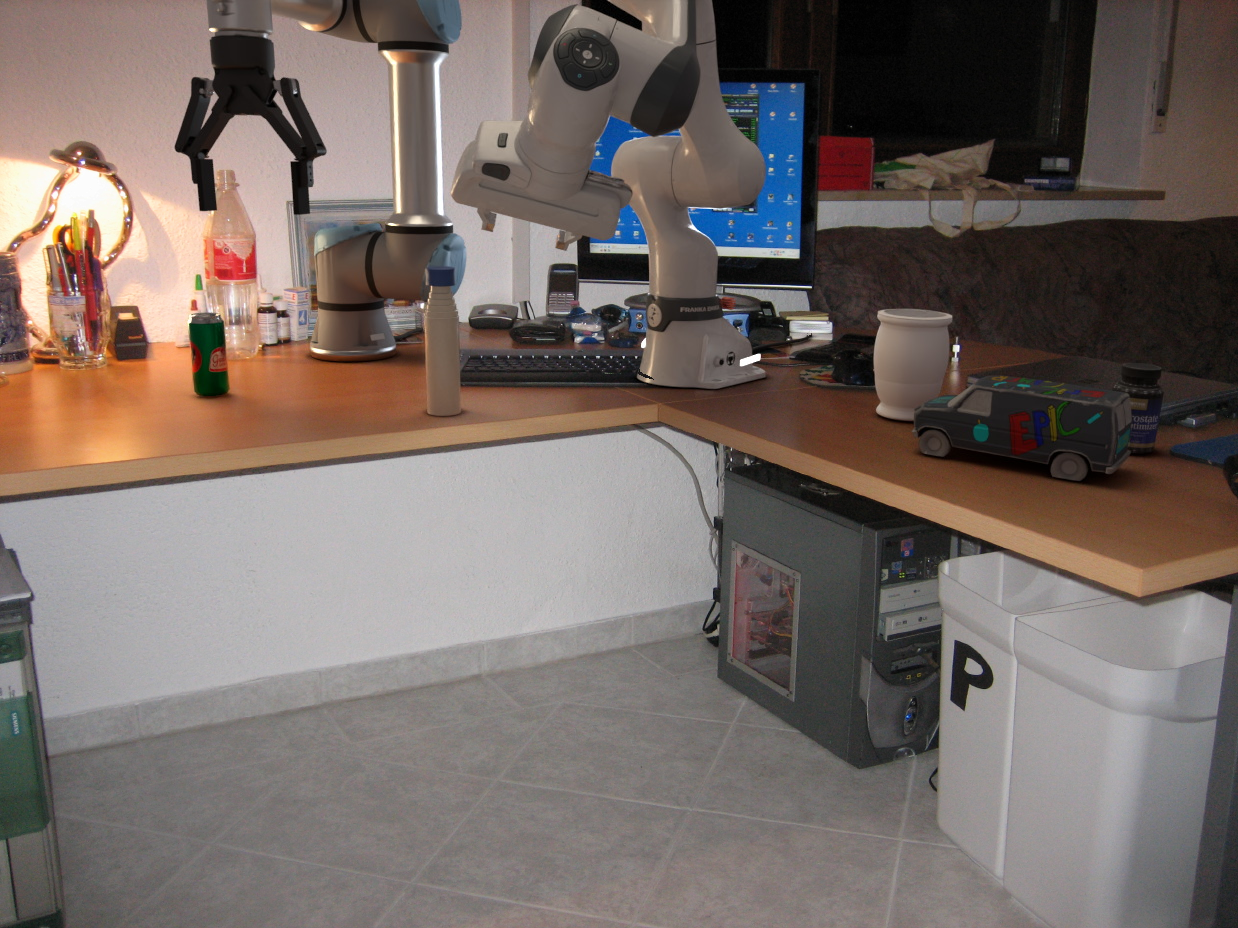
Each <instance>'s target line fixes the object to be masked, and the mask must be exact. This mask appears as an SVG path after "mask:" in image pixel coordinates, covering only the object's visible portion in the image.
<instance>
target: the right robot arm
mask: <svg viewBox="0 0 1238 928" xmlns="http://www.w3.org/2000/svg"><path fill="white" fill-rule="evenodd" d="M607 1H608V2H610V3H611V4H613V5H614V6H616V7H617V8H619V9H620V10H622V11H625V12H626V13H627V14H629V15H631V16H633V17H635V18H636V19H637V20H639V21H641V29H638V28H635V27H633V26H631V25H629V24H626V23H624V22H622V21H619V20H617V19H616V18H613V17H612V16H609V15H607V14H604V13H602V12H600V11H597V10H595V9H592V8H590V7H588V6H584V5H580V4H578V3H576V4H575V3H574V4H571V5H568V6H566V7H564V8H561V9H559V10H558V11H556V12H554V13H552V14H550V15H549V16H548V17H547V19H546V20H545V22H544V23H543V25H542V28H541V29H540V32H539V34H538V37H537V41H536V44H535V48H534V51H533V55H532V59H531V63H530V66H529V69H528V71H527V79H528V83H529V88H530V92H529V95H528V99H527V103H526V116H525V118H523V119H522V120H483V121H481V122H480V123H479V125H478V128H477V130H476V133H475V137H474V140H472V141H470V142H469V143H468V144H467V145H466V147H465V149H463V152H462V154H461V156H460V157H459V160H458V163H457V166H456V168H455V172H454V174H453V175H454V176H453V180H452V185H451V190H450V196H451V198H452V199H453V201H454V202H455V203H456V204H459V205H464V206H468V207H470V208H475V209H477V210H476V213H477V214H478V216H479V218H480V220H481V221H482V222H481V227H480V228H481V229H480V230H481V231H486V232H490V233H493V232H494V229H495V226H496V222H497V221H496V220H497V215H498V214H499V215H502V216H506V217H510V218H514V219H518V220H522V221H524V222H525V221H526V222H530V223H533V224H537V225H540V226H545V227H549V228H553V229H556V230H558V232H557V235H556V239H555V245H554V248H555V249H557V250H561V251H564V252H567V251H568V248H569V246H570V244H573V243H575V242H577V241H579V240H581V239H582V238H583V236H584V237H588V238H591V239H596V240H599V241H608V240H610V239H612V238H613V237H614V236H615V234H616V231H617V228H618V224H619V221H620V217H621V216H620V215H621V209H624V208H626V207H627V206H628V205H629V206H630V208H631V209H632V210H633V212H634V213H635V215H636V216H637V218H638V220H639V222H640V224H641V226H642V229H643V231H644V235H645V239H646V242H647V250H648V270H649V271H648V272H649V274H648V275H649V276H648V277H649V278H648V279H649V280H648V292H647V293H646V298H645V320H646V333H645V338H644V339H643V341H642V342H641V348H642V349H643V351H642V357H641V362H640V365H639V369H640V372H642V373H643V374H646V375H648V376H650V377H652V378H653V379H654V380H653V379H649V378H645V377H643V376H641V375H639V374H638V373H637V374H636V378H637V379H638V380H639V381H641V382H644V383H646V384H647V383H648V384H652V385H655V386H656V385H657V386H664V387H674V388H699V389H706V390H707V389H709V390H717V389H722V388H727V387H730V386H734V385H739V384H743V383H748V382H751V381H752V382H753V381H755V380H759V379H760V380H761V379H763V378H766V377H767V372H766V371H765V370H764V369H763V368H760V367H759V366H756V365H753V364H754V363H755V362H758V361H760V360H761V353H757V354H754V355H753V352H756V351H760V350H763V349H767V348H773V347H774V348H775V347H781V346H786V345H792V344H798V343H803V342H806V341H808V340H809V339H810V338H812V337H813V333H811V335H809V336H808V335H807V334H806V336H803V337H800V338H795V339H790V340H784V341H778V342H771V343H765V344H761V345H756V346H754V347H752V344H751V341H750V340H749V338H747V336H746V335H744V334H743V333H742V332H741V331H739V330H738V329H737V328H736V327H735V326H734V325H732V323H730V321H728V320H727V318H725V317H724V316H725V314H724V310H725V309H727V310H730V311H733V310H734V309H735V307H736V305H737V302H736V301H737V300H736V299H735V298H734V297H728V296H722V298H721V297H719V295H718V294H717V290H718V289H717V288H718V286H717V285H718V265H719V263H718V262H719V252H718V249H717V246H716V244H715V243H714V241H713V240H712V239H711V238H710V237H709V236H707V235H706V234H704V233H703V232H701V231H699V230H698V229H697V228H696V226H695V225H694V224H693V222H692V220H691V219H692V218H691V217H690V213H689V208H690V209H711V210H712V209H713V210H727V209H732V208H733V209H734V208H739V207H743V206H749V205H751V204H752V203H753V202H754V201H755V200H756V199H757V198H758V197H759V195H760V194H761V192H762V190H763V188H764V186H765V181H766V177H767V176H766V175H767V168H766V167H767V166H766V161H765V158H764V156H763V154H762V152H761V150H760V149H759V147H758V146H757V144H756V143H755V142H753V141H752V140H751V139H749V138H748V137H747V136H746V135H745V134H744V133H742V131H741V130H740V129H739V127H737V125H736V124H735V122H734V121H733V119H732V117H731V115H730V113H729V111H728V109H727V107H726V104H725V101H724V98H723V95H722V89H721V86H720V76H719V67H718V66H719V65H718V54H717V53H718V49H717V33H716V21H715V13H714V7H713V0H607ZM610 117H612V118H615V119H617V120H620V121H622V122H625V123H627V124H630V126H631V127H632V128H634V129H636V130H639V131H640V132H642V133H644V134H646V135H648V136H643V137H638V138H634V139H630V140H626V141H624V142H622V143H621V144H620V145H619V147H618V148H617V150H616V152H615V153H614V155H613V158H612V161H611V168H610V175H608V174H604V173H602V172H599V171H596V170H592V169H590V168H591V165H592V163H593V161H594V159H595V155H596V150H597V142H598V141H599V140H600V138H601V137H602V136H603V134H604V132H605V131H606V128H607V126H608V123H609V120H610ZM677 130H678V131H679V134H680V135H667V134H670V133H673V132H676V131H677ZM723 309H724V310H723Z"/></svg>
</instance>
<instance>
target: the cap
mask: <svg viewBox="0 0 1238 928" xmlns="http://www.w3.org/2000/svg"><path fill="white" fill-rule="evenodd" d="M425 274H426V285H427V286H436V287H446V286H454V285H455V268H454V267H445V266H435V267H426V268H425Z"/></svg>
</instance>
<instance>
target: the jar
mask: <svg viewBox="0 0 1238 928" xmlns="http://www.w3.org/2000/svg"><path fill="white" fill-rule="evenodd" d="M877 319H878V321H880V325H879V327H878V329H877V334H876V337H875V342H874V347H873V372H874V384H875V385H874V386H875V391H876V395H877V398H878V399H879V401H880V402H879V404H877V405H878V406H877V407H876V409H875V412H876V413H877V415H879V416H881V417H884V418H887V419H889V420H890V419H891V420H896V421H903V422H914V412H915V410H914V409H915V408H917V407H918V406H920V405H921V404H923V403H925V402H927V401H929V400H932V399H934V398H937V397H940V393H941V391H942V388H943V384H944V378H945V377H946V376H945V375H946V373H947V369H948V364H949V360H950V359H949V357H950V334H949V327H948V326H949V325H951V324H952V323H953V315H952V314H950V313H947V312H943V311H936V310H929V309H918V308H888V309H880V310H878V311H877Z"/></svg>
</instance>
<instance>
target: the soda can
mask: <svg viewBox="0 0 1238 928" xmlns="http://www.w3.org/2000/svg"><path fill="white" fill-rule="evenodd" d="M221 315H222V314H221V313H219V312H196V313H191V314H189V319H188V321H187V331H188V343H189V352H190V363H191V364H190V365H191V372H192V382H193V392H194V393H195V394H196V395H197V396H199V397H203V398H204V397H205V398H213V397H220V396H225V395H227V394H228V393H229V391H230V390H231V389H230V388H231V387H230V376H229V375H230V374H229V363H228V351H227V341H226V339H227V338H226V329H225V321H224V319H223V318H222V316H221Z"/></svg>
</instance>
